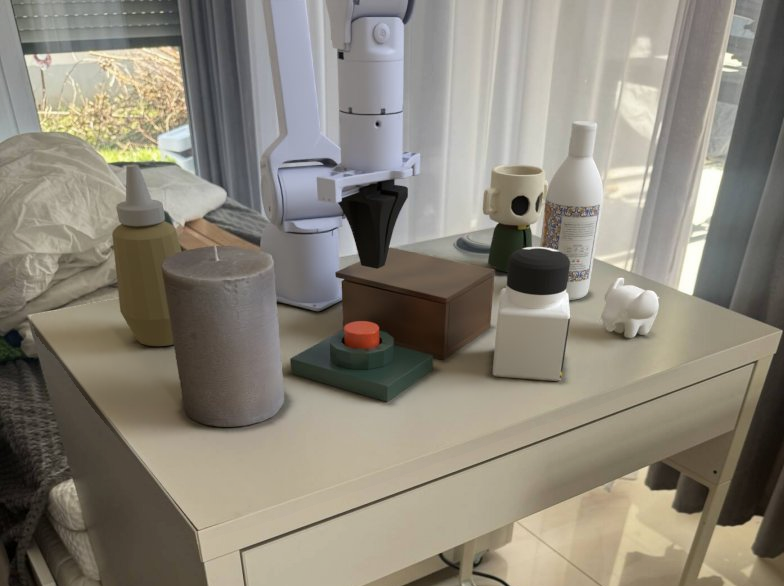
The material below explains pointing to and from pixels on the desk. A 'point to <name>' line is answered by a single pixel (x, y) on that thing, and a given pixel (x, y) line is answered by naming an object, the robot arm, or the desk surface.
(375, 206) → the robot arm
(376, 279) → the lid
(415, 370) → the button block
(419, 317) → the box
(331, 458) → the desk surface
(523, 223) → the character mug
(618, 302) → the elephant figurine
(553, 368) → the medicine bottle
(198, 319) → the pillar candle
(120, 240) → the squeeze bottle
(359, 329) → the button
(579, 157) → the bath foam
